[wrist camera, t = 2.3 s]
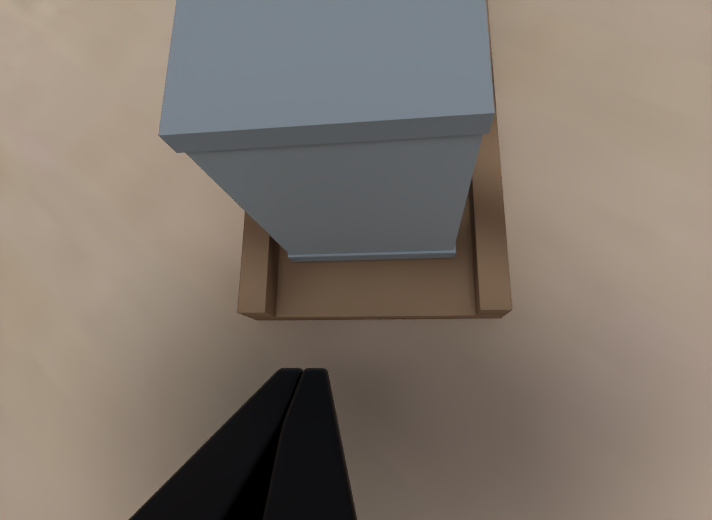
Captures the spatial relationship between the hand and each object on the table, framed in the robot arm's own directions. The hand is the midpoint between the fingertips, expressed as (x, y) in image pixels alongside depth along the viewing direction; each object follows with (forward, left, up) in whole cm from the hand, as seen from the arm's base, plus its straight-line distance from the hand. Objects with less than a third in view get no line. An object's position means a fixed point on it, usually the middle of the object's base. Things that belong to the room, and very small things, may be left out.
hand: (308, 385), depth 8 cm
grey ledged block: (+5, -7, -11) cm, 14 cm away
